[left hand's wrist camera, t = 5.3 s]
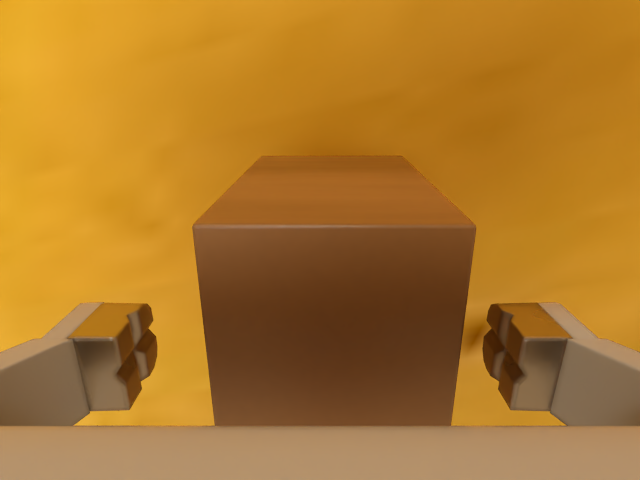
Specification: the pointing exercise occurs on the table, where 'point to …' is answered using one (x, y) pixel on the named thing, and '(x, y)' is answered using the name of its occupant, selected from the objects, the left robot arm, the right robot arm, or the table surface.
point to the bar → (333, 294)
